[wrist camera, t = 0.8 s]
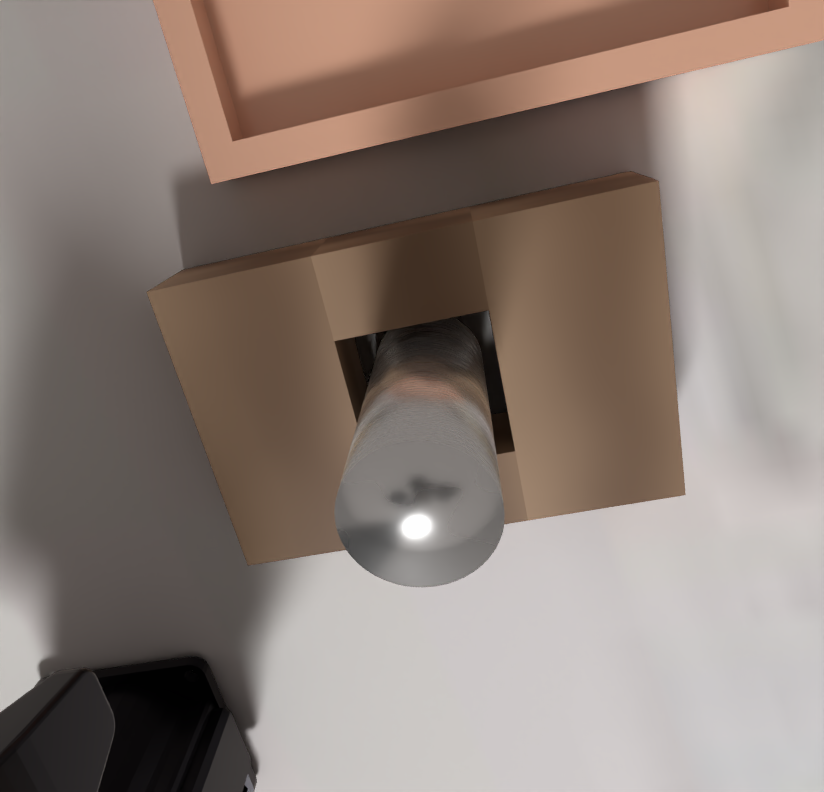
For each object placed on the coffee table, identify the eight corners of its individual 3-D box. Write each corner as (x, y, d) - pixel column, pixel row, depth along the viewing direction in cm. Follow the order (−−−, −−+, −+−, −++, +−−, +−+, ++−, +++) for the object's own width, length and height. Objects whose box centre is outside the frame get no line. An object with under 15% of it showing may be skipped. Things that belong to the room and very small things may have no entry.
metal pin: (390, 420, 20) (357, 597, 13) (365, 323, 19) (315, 457, 12) (491, 401, 20) (517, 573, 13) (471, 302, 19) (488, 426, 12)
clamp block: (268, 517, 22) (247, 565, 19) (183, 269, 19) (146, 292, 17) (658, 451, 20) (685, 495, 18) (630, 171, 17) (658, 181, 15)
